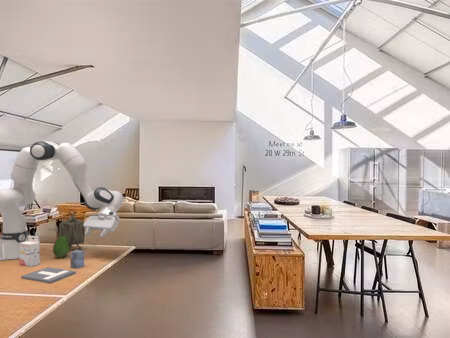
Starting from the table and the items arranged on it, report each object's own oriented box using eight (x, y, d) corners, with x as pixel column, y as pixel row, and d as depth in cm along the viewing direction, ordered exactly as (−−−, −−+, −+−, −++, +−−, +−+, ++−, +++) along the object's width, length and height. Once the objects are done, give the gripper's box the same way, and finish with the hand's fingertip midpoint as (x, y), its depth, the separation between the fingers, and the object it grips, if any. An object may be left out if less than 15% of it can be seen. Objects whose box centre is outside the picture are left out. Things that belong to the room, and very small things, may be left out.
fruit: (69, 254, 181) (69, 234, 181) (67, 258, 174) (67, 237, 174) (54, 256, 179) (54, 235, 179) (51, 259, 171) (51, 238, 171)
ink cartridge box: (19, 265, 162) (19, 236, 162) (28, 262, 166) (28, 235, 166) (31, 266, 159) (31, 238, 159) (39, 264, 163) (40, 236, 163)
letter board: (21, 278, 142) (21, 276, 142) (47, 269, 156) (47, 266, 156) (50, 283, 136) (50, 281, 136) (75, 273, 150) (75, 271, 150)
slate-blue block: (70, 267, 158) (70, 252, 158) (77, 265, 162) (77, 249, 162) (77, 268, 157) (77, 252, 157) (84, 266, 161) (84, 250, 161)
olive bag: (84, 249, 193) (84, 209, 193) (70, 252, 185) (71, 211, 185) (71, 246, 201) (71, 207, 201) (57, 249, 193) (57, 209, 193)
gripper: (88, 211, 181) (75, 231, 171) (117, 213, 174) (105, 234, 165) (94, 217, 185) (81, 237, 176) (122, 219, 178) (111, 240, 169)
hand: (93, 235), depth 170 cm, fingers open, 8 cm apart
